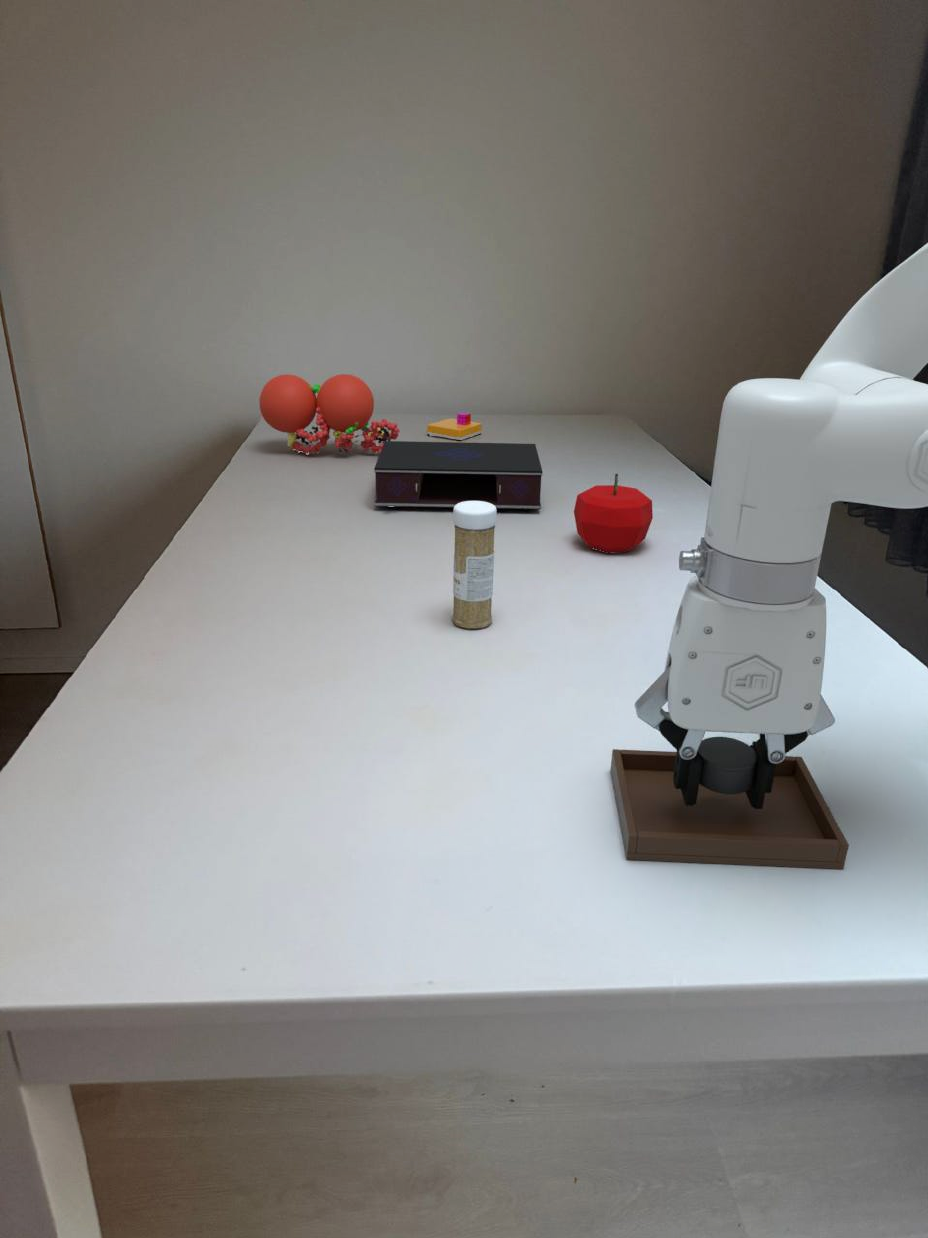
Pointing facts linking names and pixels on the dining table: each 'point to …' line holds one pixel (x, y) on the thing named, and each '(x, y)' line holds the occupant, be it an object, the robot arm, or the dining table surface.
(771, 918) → the dining table surface
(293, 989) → the dining table surface
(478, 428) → the orange slab with cube
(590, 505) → the apple
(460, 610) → the spice jar
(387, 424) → the molecule
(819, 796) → the tray
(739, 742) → the flask cap
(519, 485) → the low media console
